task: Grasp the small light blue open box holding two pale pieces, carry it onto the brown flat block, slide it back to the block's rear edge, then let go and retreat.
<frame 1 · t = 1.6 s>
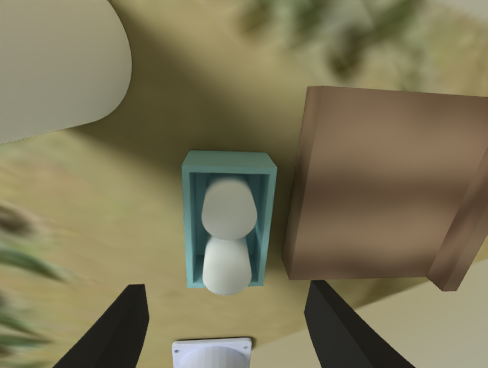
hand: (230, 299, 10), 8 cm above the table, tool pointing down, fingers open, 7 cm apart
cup: (58, 50, 13), on the table
brown flat block: (371, 187, 18), on the table
light blue open box: (226, 207, 18), on the table
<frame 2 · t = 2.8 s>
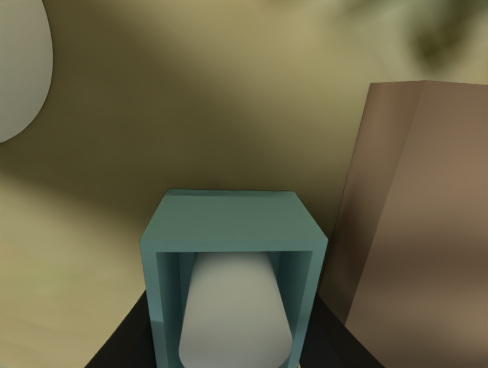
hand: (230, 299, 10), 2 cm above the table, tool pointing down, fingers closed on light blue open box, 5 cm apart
brown flat block: (451, 238, 12), on the table
light blue open box: (229, 272, 11), on the table, touching gripper
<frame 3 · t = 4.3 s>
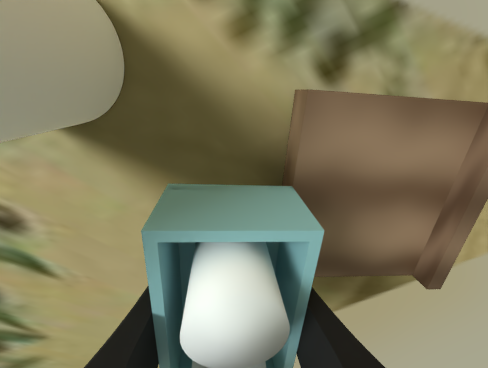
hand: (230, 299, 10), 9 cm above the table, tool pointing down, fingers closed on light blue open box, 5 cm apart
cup: (53, 53, 13), on the table
brown flat block: (359, 187, 19), on the table
light blue open box: (228, 265, 12), point 7 cm above the table, touching gripper
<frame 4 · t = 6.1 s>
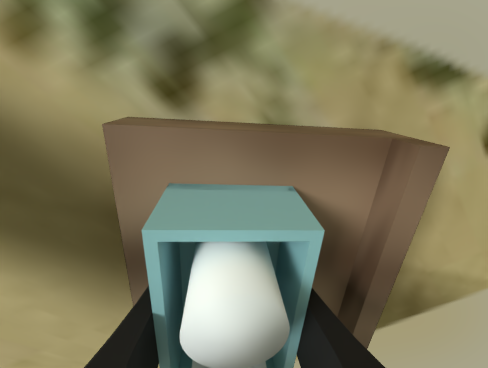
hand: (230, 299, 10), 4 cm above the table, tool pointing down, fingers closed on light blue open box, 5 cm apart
brown flat block: (251, 238, 14), on the table
light blue open box: (229, 265, 12), point 3 cm above the table, touching gripper
when the fingers open (4 cm above the table, at t = 7.2 s): light blue open box stays where it is, resting on brown flat block.
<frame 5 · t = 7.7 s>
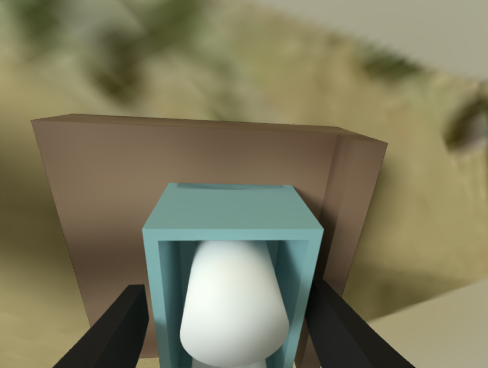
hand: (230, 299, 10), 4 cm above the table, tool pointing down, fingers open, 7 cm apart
brown flat block: (211, 237, 14), on the table
light blue open box: (228, 264, 12), point 2 cm above the table, touching brown flat block
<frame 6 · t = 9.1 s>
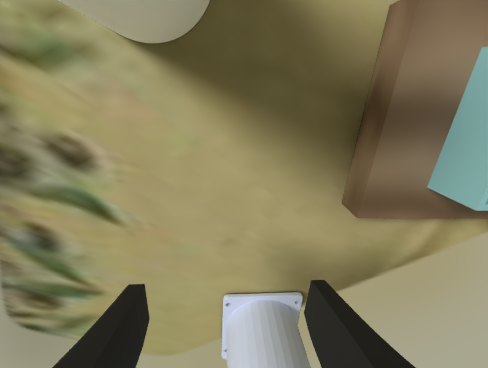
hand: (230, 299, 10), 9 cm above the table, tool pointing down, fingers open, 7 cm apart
brown flat block: (440, 123, 18), on the table
light blue open box: (487, 127, 15), point 2 cm above the table, touching brown flat block
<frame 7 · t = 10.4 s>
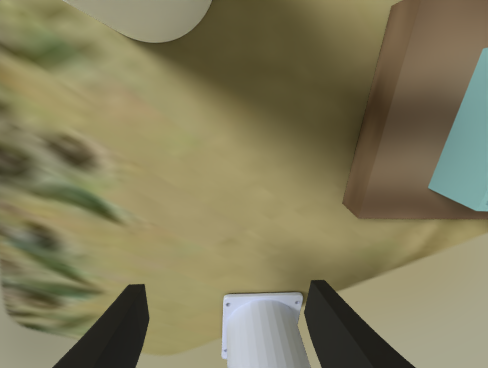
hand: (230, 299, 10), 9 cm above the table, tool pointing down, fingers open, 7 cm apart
brown flat block: (441, 124, 18), on the table
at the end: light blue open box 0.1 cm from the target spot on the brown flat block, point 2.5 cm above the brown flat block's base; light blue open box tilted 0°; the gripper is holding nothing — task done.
